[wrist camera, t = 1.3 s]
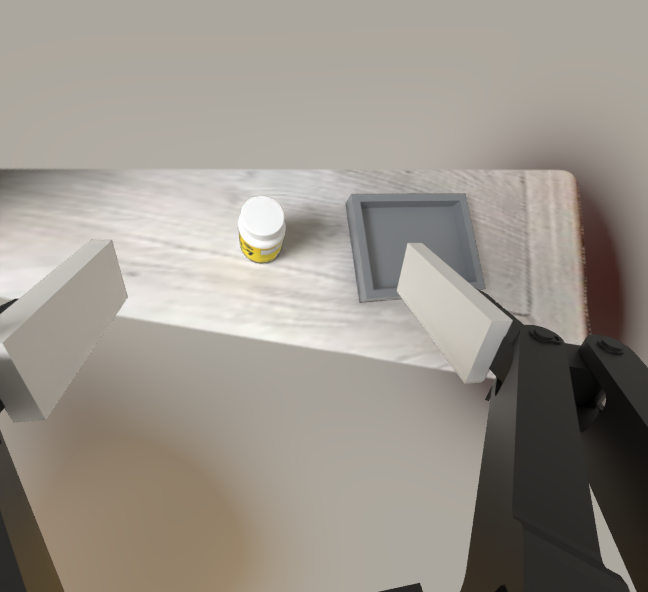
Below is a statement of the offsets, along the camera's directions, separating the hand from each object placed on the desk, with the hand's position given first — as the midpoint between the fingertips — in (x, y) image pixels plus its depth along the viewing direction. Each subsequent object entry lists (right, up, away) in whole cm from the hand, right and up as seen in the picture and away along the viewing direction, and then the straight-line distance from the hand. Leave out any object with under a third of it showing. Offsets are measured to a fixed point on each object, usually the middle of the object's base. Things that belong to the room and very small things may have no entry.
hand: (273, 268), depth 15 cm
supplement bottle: (-5, +5, +23) cm, 24 cm away
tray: (+14, +5, +27) cm, 30 cm away
